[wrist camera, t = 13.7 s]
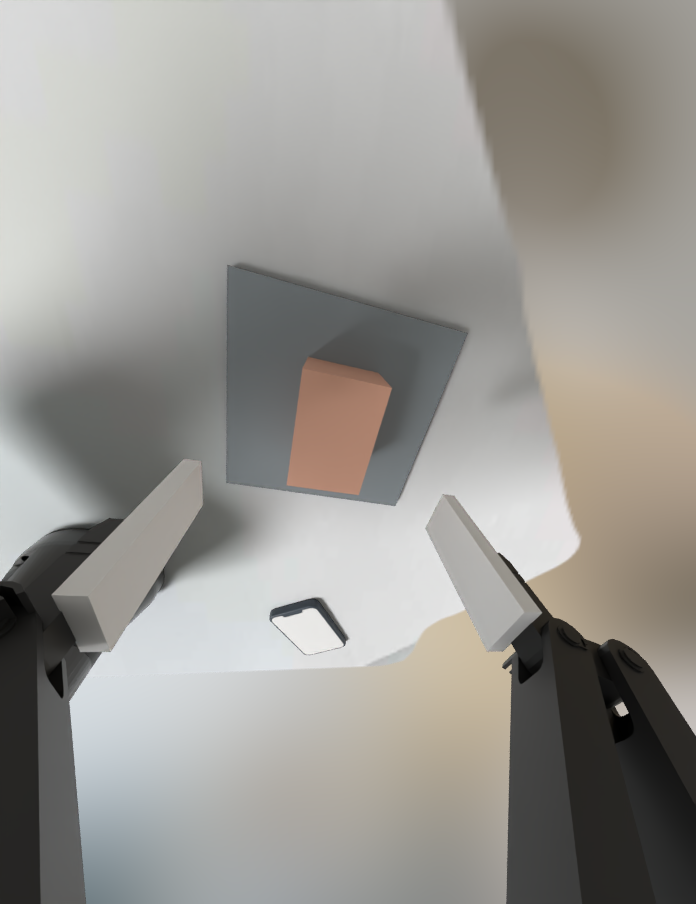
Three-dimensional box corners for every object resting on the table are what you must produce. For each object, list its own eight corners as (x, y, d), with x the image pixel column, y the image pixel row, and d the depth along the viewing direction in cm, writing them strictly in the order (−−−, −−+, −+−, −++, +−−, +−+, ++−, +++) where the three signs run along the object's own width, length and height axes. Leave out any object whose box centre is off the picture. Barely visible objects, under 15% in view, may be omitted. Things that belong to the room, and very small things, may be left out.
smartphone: (347, 636, 48) (316, 594, 40) (348, 646, 47) (316, 604, 39) (305, 647, 49) (267, 608, 41) (305, 657, 48) (265, 618, 40)
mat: (228, 478, 28) (226, 482, 27) (231, 266, 19) (227, 264, 18) (393, 501, 31) (395, 505, 31) (463, 332, 22) (467, 333, 22)
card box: (308, 356, 22) (302, 368, 17) (378, 372, 23) (392, 387, 18) (294, 454, 26) (286, 485, 21) (353, 463, 27) (358, 495, 22)
